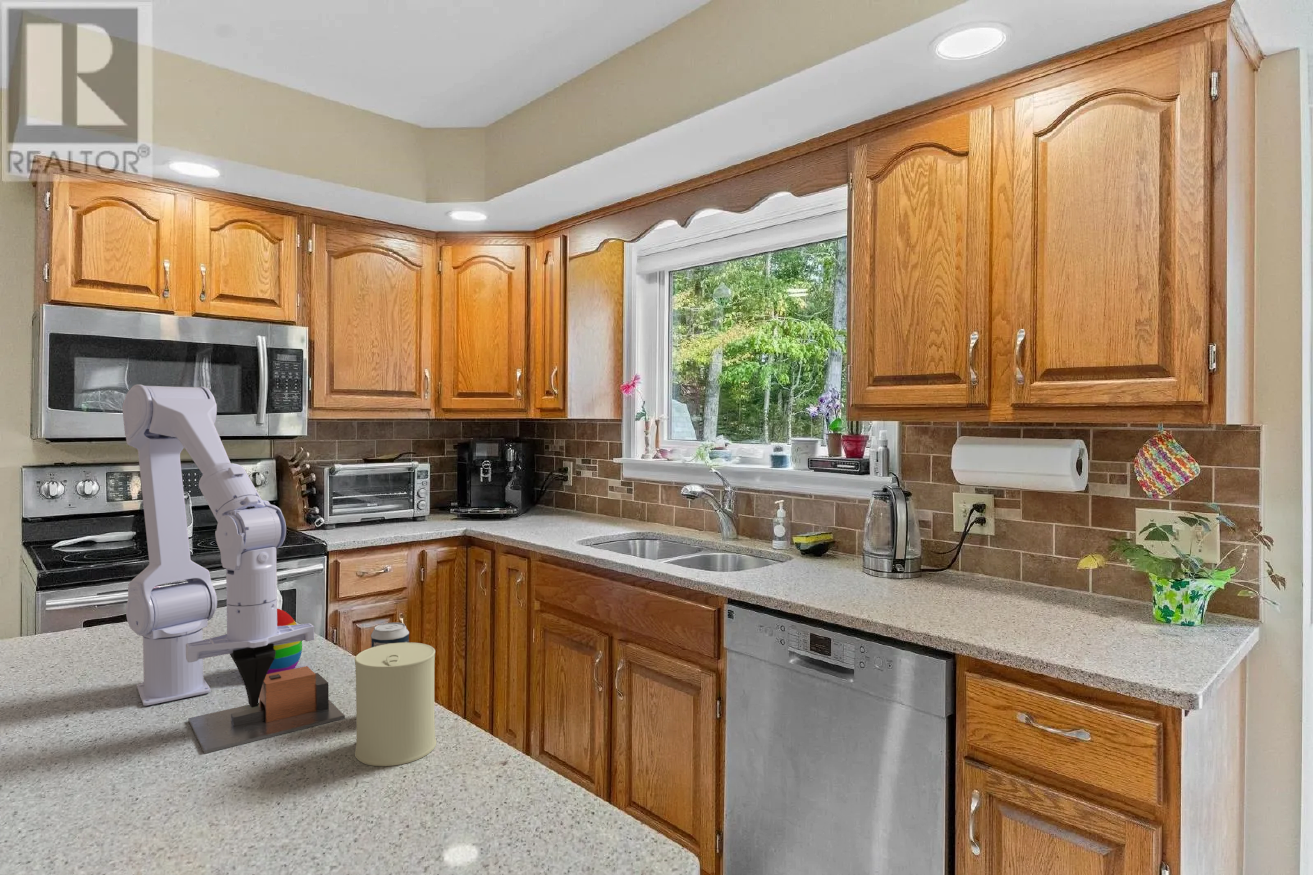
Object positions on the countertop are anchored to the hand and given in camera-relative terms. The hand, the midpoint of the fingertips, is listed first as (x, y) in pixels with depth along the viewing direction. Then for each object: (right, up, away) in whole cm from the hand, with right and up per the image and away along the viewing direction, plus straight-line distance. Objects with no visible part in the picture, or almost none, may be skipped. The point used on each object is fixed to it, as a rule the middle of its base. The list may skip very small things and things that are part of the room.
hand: (253, 704), depth 96 cm
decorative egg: (-7, -2, +19) cm, 20 cm away
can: (+21, -3, -7) cm, 22 cm away
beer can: (+17, -3, +3) cm, 17 cm away
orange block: (+3, -2, +3) cm, 5 cm away
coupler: (+1, -2, +1) cm, 3 cm away
